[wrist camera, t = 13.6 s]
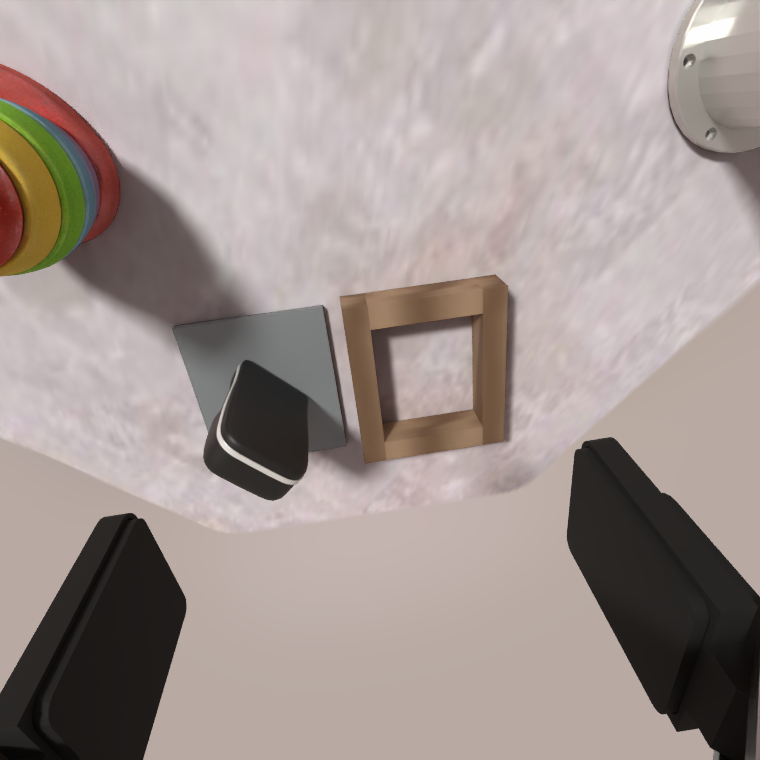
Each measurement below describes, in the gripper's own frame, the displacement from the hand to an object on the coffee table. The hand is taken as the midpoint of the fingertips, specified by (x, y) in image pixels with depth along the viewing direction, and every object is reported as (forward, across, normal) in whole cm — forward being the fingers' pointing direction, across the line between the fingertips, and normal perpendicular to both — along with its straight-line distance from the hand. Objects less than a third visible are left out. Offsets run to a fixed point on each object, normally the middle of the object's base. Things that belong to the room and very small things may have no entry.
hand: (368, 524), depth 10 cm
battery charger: (+29, +9, +12) cm, 33 cm away
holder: (+30, -5, +13) cm, 33 cm away
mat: (+30, +9, +13) cm, 33 cm away
